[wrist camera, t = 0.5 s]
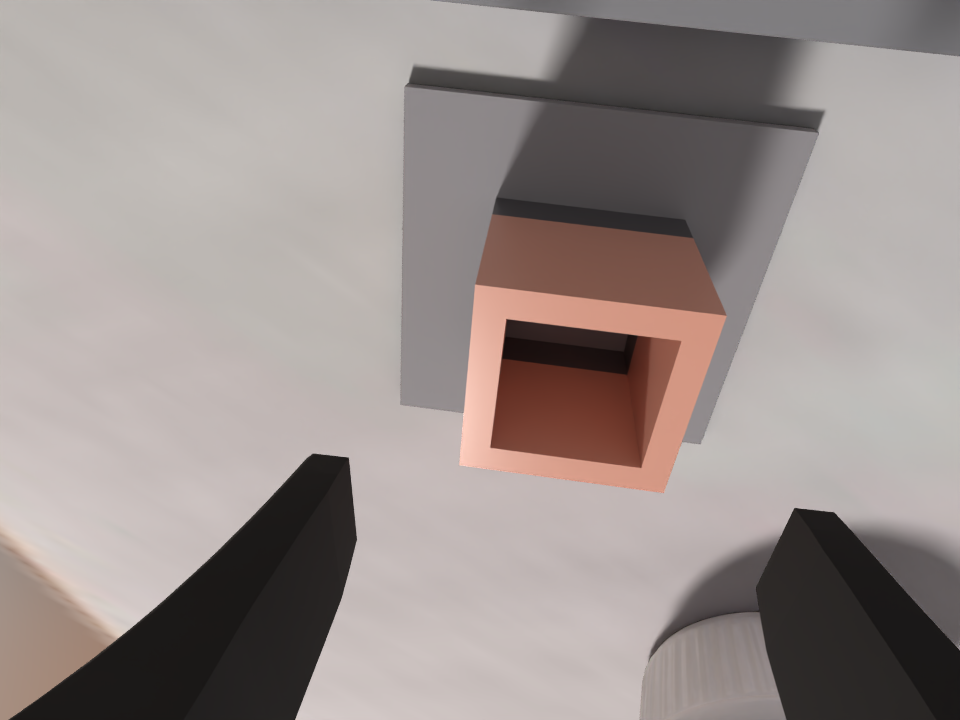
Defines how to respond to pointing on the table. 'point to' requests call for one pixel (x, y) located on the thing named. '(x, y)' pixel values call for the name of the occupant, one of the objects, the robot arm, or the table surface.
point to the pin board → (782, 18)
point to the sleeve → (584, 370)
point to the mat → (579, 183)
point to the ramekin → (712, 673)
